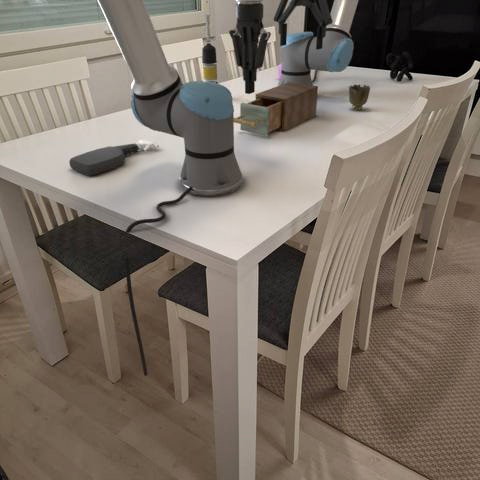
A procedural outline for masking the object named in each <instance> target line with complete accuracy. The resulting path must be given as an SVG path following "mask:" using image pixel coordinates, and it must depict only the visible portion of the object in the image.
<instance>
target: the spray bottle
mask: <svg viewBox="0 0 480 480" xmlns="http://www.w3.org/2000/svg"><path fill="white" fill-rule="evenodd" d="M159 148H160V145H159V144H158V143H155V142H151V141H148V140H144V139H139V140H138V141H137V142H135V143H129V144H128V143H126V144H122V145H113V146H105V147H100V148H97V149H94V150H90V151H87V152H83V153H81V154H78V155H74V156H73V157H70V159H69V161H68V162H69V167H70V168H71V169H72V170H74V171H75V172H78V173H81V174H83V175H85V176H89V177H90V176H91V177H92V176H95V175H99V174H102V173H105V172H107V171H110V170H113V169H116V168H118V167H120V166H122V165H123V164H124V163H125V158H126V156H127V155H131V154H133V153H138V151H140V150H143V151H144V152H146V151H147V150H149V149H159Z"/></svg>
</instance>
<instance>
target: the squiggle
mask: <svg viewBox="0 0 480 480" xmlns="http://www.w3.org/2000/svg"><path fill="white" fill-rule="evenodd" d="M401 57H402V59H401ZM391 59H392V60H391ZM393 60H394V61H393ZM385 61H386V64H387V67H390V68H391V70H390V72H389V78H390V79H391V80H395V79H396V81H397V82H399V83H400V82H402V81H403V79H404V76H406V78H407V80H408V81H412V80H413V79H414V77H413V75H412V74H411V73H410V72H409V71H410V70H412V69H413V68H414V64H413V61H412V57H411V54H410V53H409V52H408V51H403V53H402V54H401V55H396V54H394V53H392V52H390V53H387V55H386V57H385ZM406 62H407V65H408V66H407V67H405V66H404V65H405V64H406ZM400 70H401V71H400Z"/></svg>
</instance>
